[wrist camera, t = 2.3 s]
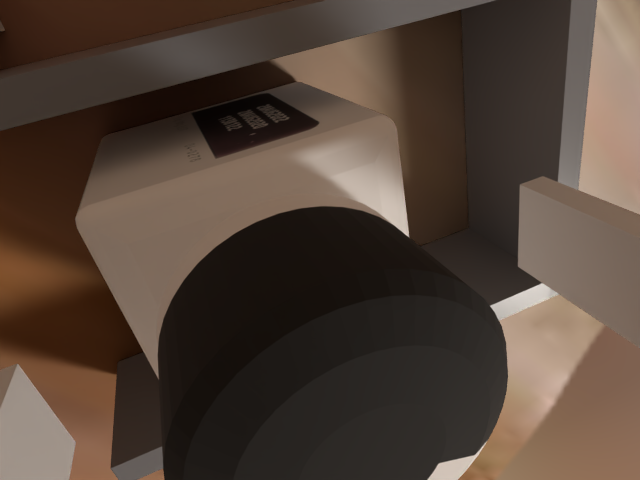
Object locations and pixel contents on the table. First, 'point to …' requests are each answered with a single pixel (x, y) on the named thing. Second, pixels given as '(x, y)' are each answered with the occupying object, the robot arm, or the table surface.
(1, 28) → the tray
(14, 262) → the table surface
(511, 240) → the bay
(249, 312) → the container
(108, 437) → the table surface
